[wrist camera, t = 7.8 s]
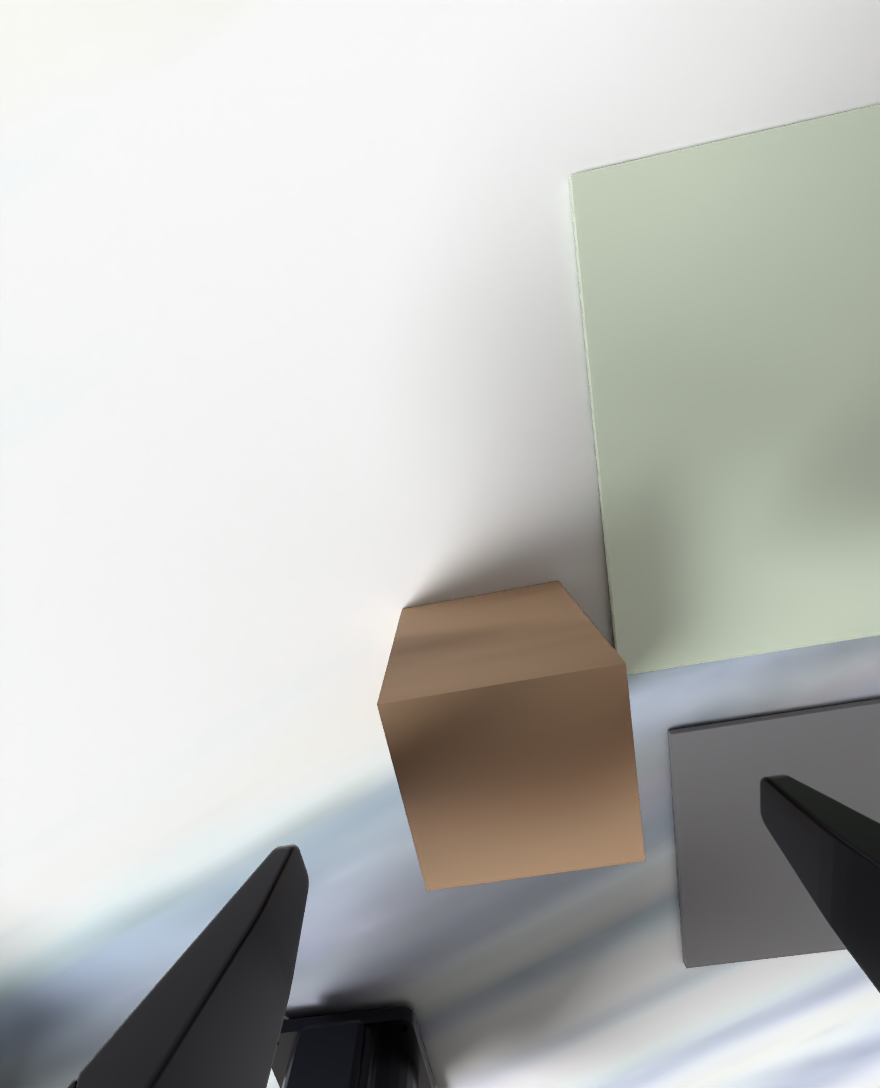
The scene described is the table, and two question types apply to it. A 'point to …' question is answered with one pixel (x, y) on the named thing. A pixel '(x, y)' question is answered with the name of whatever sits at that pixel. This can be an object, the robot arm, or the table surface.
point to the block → (511, 738)
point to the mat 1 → (737, 389)
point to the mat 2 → (760, 826)
